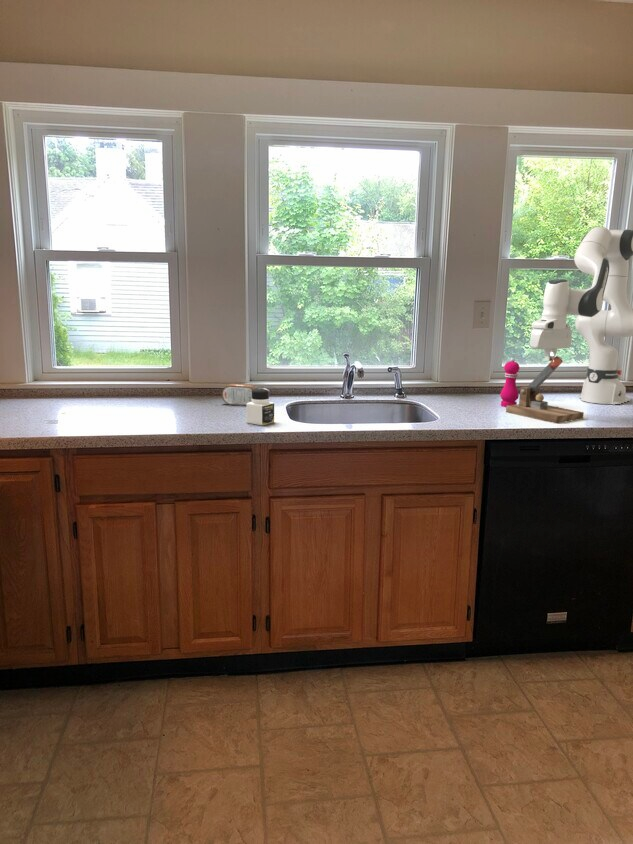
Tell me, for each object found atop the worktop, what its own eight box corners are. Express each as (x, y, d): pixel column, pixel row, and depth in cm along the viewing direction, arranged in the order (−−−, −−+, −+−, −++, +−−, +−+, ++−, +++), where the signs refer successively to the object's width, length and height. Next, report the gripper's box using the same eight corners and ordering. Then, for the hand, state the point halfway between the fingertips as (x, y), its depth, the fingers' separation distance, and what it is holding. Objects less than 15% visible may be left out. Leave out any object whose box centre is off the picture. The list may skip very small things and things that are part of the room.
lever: (524, 399, 247) (520, 392, 249) (529, 398, 249) (525, 392, 251) (558, 362, 233) (553, 356, 234) (564, 362, 234) (559, 356, 236)
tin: (259, 405, 253) (259, 384, 251) (257, 406, 250) (257, 385, 248) (223, 403, 255) (223, 383, 254) (220, 405, 252) (220, 384, 250)
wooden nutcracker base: (532, 408, 256) (534, 383, 254) (582, 418, 238) (585, 392, 235) (505, 412, 248) (508, 386, 246) (556, 423, 229) (558, 396, 227)
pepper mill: (518, 408, 256) (522, 359, 252) (500, 407, 257) (504, 358, 253) (516, 404, 263) (520, 357, 259) (498, 403, 264) (502, 356, 260)
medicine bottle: (262, 425, 217) (262, 391, 215) (246, 423, 221) (245, 389, 218) (274, 422, 223) (274, 388, 221) (258, 419, 227) (258, 386, 224)
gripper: (563, 323, 243) (559, 358, 246) (528, 323, 232) (525, 360, 235) (578, 324, 238) (573, 360, 240) (543, 324, 227) (539, 362, 229)
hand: (549, 360), depth 237 cm, fingers closed
